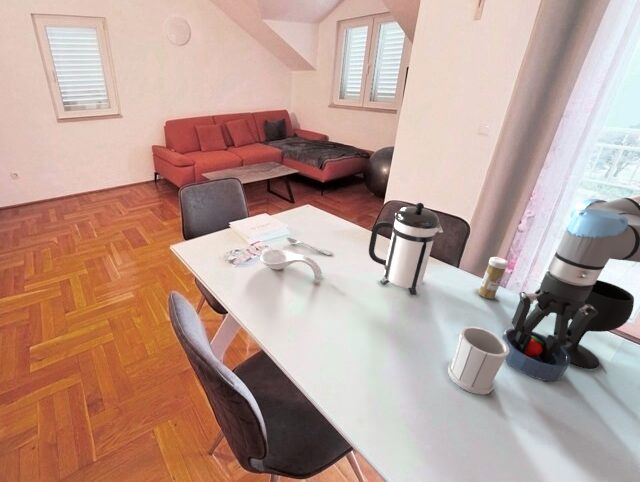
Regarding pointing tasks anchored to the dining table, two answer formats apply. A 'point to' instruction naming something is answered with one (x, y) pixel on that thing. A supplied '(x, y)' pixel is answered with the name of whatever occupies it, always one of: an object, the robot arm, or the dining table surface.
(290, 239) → the spoon
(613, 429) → the dining table surface
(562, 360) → the bowl
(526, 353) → the strawberry
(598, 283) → the wine glass
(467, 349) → the cup
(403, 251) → the coffee press
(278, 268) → the spoon rest
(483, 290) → the sprinkles bottle
